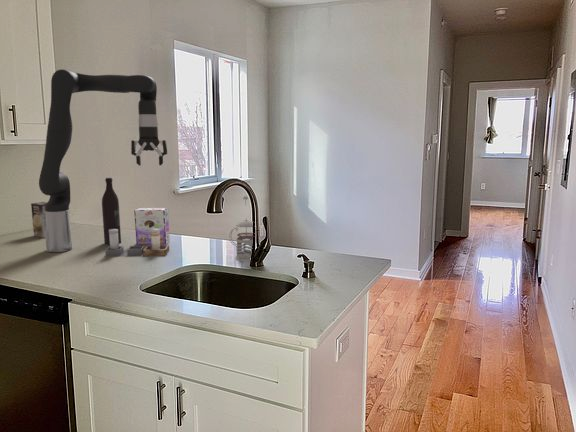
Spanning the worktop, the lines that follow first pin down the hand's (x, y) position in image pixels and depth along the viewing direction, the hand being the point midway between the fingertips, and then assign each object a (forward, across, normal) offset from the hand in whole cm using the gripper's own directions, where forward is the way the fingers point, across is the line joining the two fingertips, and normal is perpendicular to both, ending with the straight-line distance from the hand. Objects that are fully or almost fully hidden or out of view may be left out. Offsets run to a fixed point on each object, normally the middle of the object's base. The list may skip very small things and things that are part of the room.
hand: (150, 165), depth 207 cm
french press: (+36, +38, -19) cm, 56 cm away
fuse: (+35, -14, -9) cm, 39 cm away
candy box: (+36, -2, +10) cm, 38 cm away
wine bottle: (+36, -20, +12) cm, 43 cm away
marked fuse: (+36, +2, -9) cm, 37 cm away
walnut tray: (+36, +2, -9) cm, 37 cm away
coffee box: (+36, -58, +36) cm, 77 cm away
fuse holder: (+36, -10, -9) cm, 39 cm away
